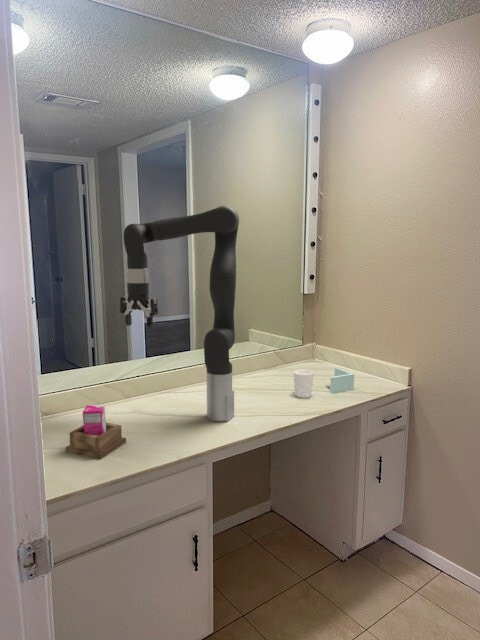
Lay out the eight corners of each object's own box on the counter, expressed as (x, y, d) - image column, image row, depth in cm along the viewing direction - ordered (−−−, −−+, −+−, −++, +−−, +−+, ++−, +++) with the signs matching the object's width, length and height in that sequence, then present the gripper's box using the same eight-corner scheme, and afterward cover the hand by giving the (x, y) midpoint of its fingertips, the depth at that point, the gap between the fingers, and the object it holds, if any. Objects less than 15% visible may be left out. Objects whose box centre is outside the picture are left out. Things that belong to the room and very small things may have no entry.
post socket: (126, 442, 155) (125, 424, 154) (100, 459, 143) (99, 440, 142) (93, 436, 160) (92, 418, 159) (65, 452, 148) (64, 433, 147)
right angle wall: (335, 383, 221) (336, 367, 220) (353, 390, 211) (354, 374, 210) (314, 386, 216) (314, 370, 214) (331, 394, 205) (332, 377, 204)
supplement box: (88, 439, 154) (86, 404, 152) (107, 438, 155) (105, 404, 153) (84, 446, 148) (82, 411, 147) (103, 446, 149) (102, 410, 147)
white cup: (291, 397, 200) (291, 373, 199) (296, 391, 208) (296, 368, 206) (309, 399, 197) (310, 375, 196) (314, 393, 205) (315, 370, 203)
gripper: (114, 281, 171) (116, 326, 174) (149, 283, 166) (150, 329, 169) (127, 279, 178) (128, 323, 181) (160, 281, 173) (161, 325, 176)
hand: (139, 326), depth 175 cm, fingers open, 8 cm apart
